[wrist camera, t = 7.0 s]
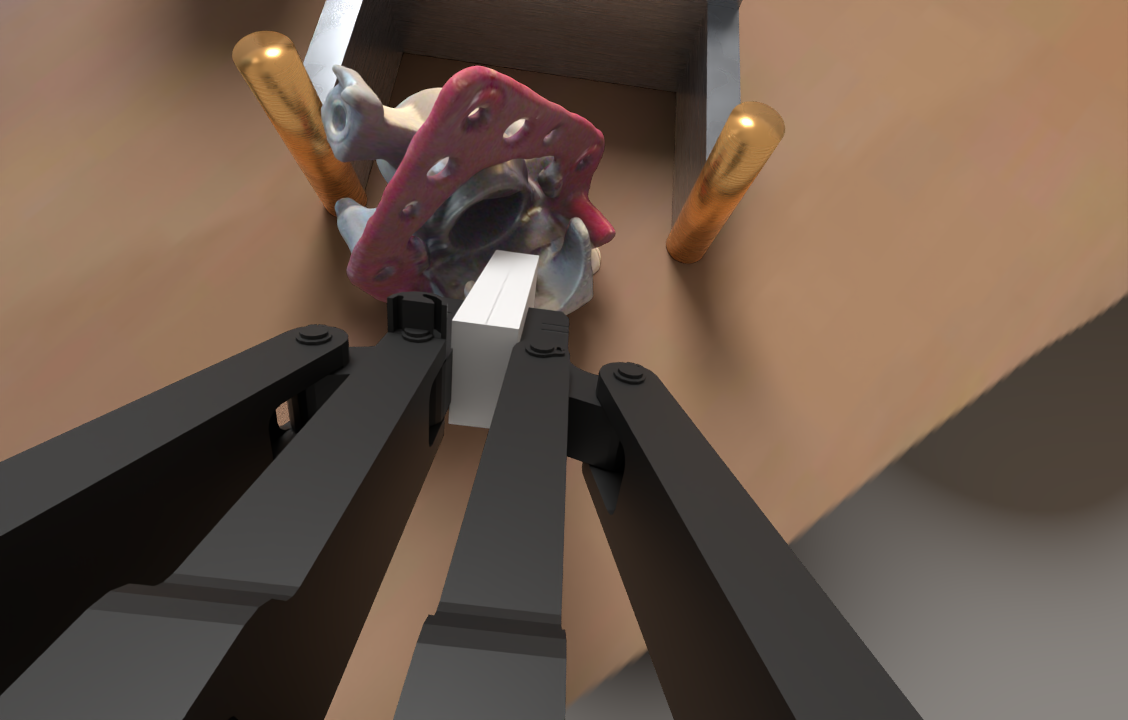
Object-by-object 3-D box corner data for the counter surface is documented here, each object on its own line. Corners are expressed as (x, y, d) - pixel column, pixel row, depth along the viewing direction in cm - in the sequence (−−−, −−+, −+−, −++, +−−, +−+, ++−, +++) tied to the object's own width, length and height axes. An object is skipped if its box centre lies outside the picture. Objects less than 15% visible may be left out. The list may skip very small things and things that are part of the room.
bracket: (319, 215, 24) (223, 70, 16) (377, 27, 28) (322, -159, 20) (705, 265, 24) (786, 150, 17) (706, 76, 28) (772, -85, 21)
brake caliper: (463, 449, 18) (234, 117, 11) (389, 334, 26) (229, 100, 19) (688, 294, 21) (629, -53, 14) (558, 234, 29) (477, -5, 22)
